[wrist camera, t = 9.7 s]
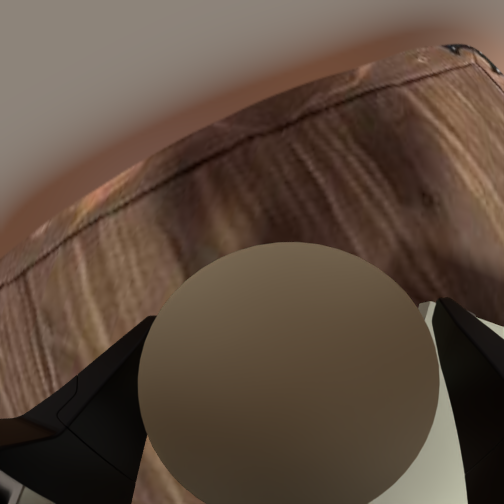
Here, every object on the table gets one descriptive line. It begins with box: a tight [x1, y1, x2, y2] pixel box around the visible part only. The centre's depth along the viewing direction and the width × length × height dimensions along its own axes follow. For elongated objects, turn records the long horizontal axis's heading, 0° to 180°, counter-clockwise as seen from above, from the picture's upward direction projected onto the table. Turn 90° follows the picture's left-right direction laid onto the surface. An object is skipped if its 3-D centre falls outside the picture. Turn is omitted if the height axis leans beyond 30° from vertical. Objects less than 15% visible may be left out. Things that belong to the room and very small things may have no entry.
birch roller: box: [138, 242, 440, 504], centre depth 11 cm, size 5×5×13 cm
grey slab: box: [368, 301, 504, 504], centre depth 12 cm, size 13×16×4 cm
